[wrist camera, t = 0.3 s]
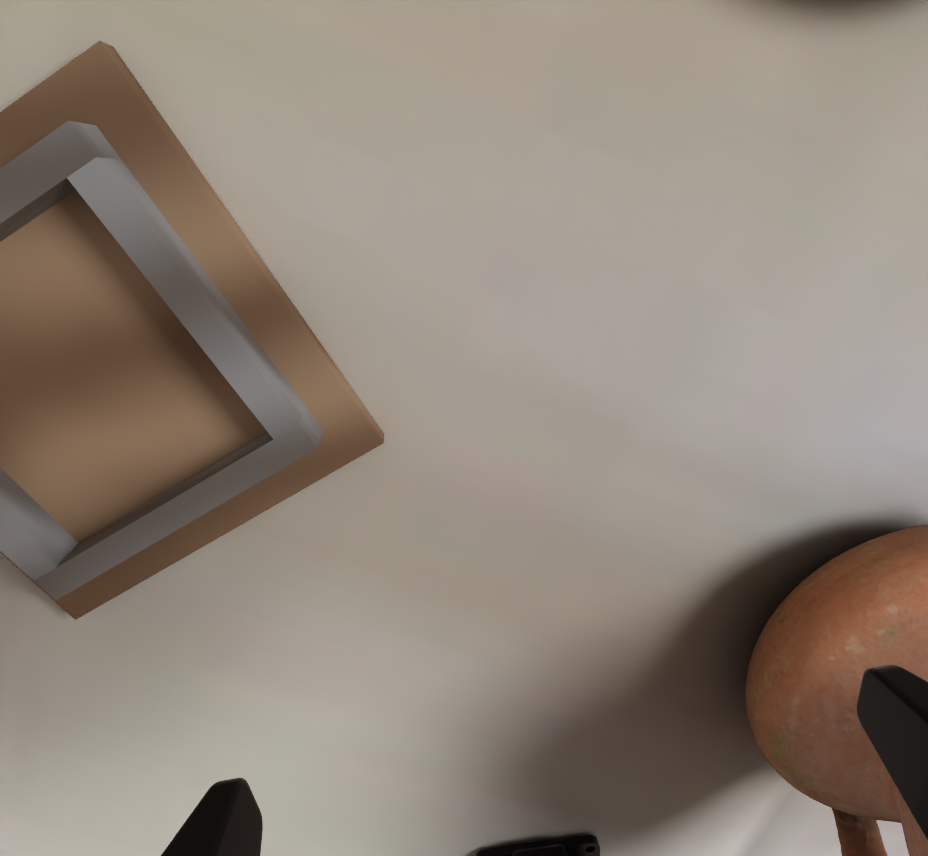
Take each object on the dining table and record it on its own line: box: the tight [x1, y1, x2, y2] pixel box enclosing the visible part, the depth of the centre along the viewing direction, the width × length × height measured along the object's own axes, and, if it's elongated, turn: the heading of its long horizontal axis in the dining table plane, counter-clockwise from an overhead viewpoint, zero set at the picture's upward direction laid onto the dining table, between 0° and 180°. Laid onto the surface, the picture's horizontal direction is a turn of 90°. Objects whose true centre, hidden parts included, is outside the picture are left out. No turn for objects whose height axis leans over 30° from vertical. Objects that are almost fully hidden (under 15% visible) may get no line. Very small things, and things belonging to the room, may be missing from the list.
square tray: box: [0, 41, 384, 620], centre depth 19 cm, size 14×14×2 cm
